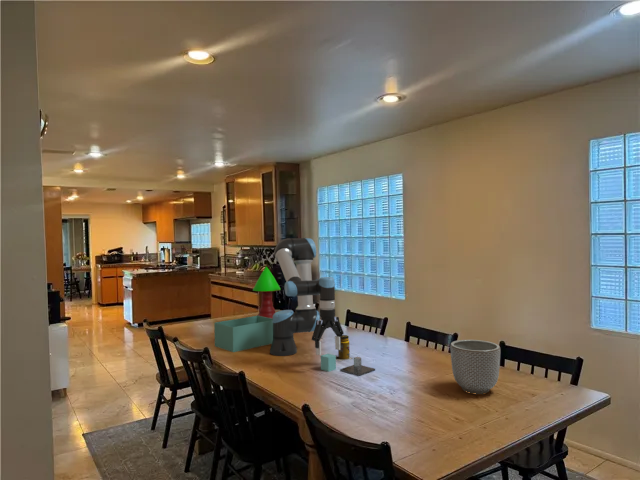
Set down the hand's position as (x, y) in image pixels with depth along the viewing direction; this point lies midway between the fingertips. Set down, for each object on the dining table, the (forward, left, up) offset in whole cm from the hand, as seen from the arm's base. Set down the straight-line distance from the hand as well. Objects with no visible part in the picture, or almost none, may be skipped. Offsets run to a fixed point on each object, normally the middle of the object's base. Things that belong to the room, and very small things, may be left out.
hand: (328, 352), depth 217 cm
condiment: (-8, +19, -9) cm, 23 cm away
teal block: (0, 0, -9) cm, 9 cm away
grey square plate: (+12, +8, -9) cm, 17 cm away
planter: (+66, +20, -9) cm, 69 cm away
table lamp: (-97, +39, -9) cm, 105 cm away
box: (-73, +4, -9) cm, 74 cm away
